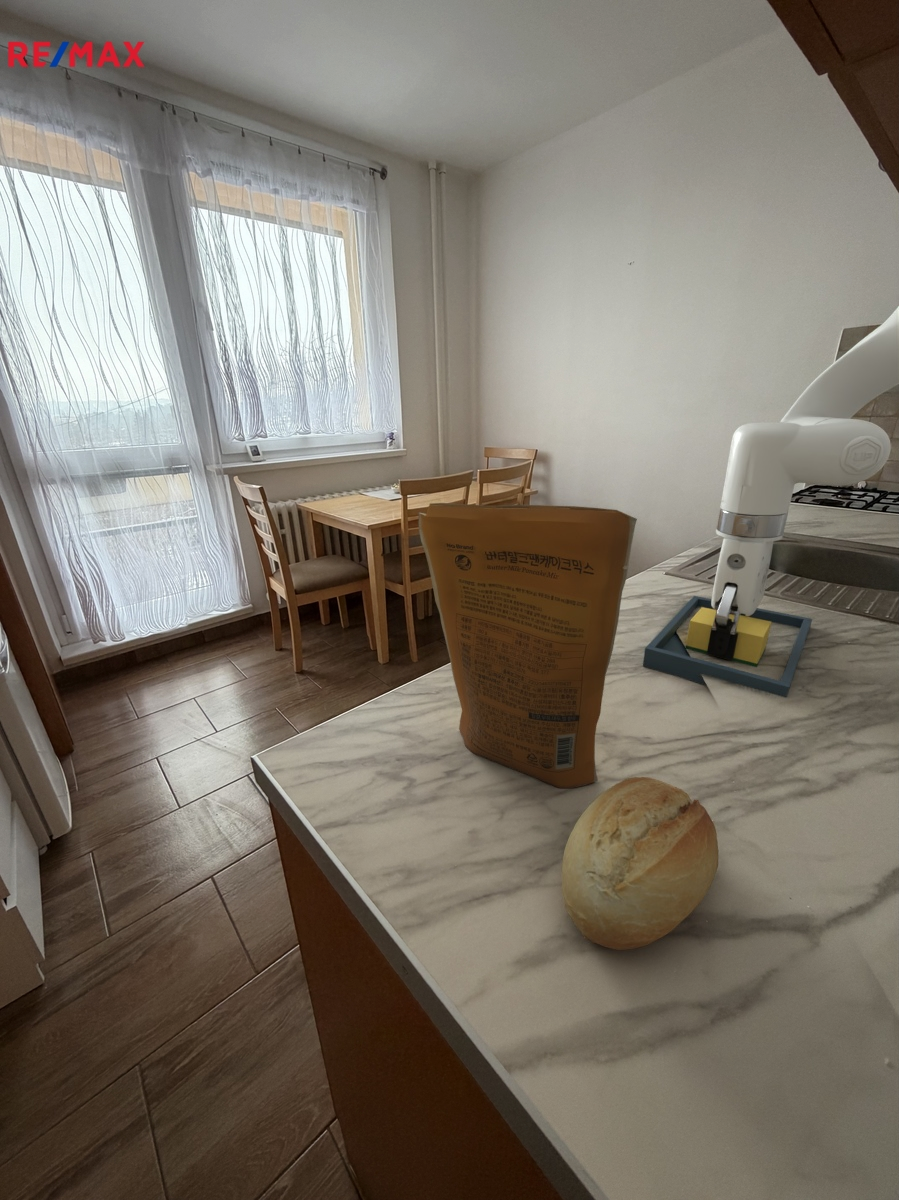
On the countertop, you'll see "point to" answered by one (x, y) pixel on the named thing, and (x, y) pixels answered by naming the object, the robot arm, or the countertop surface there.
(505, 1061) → the countertop surface
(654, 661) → the tray
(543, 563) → the pancake mix bag
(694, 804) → the bread roll
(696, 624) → the sponge
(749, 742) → the countertop surface
